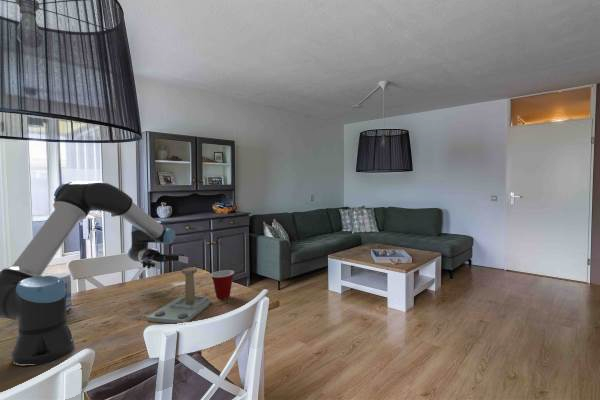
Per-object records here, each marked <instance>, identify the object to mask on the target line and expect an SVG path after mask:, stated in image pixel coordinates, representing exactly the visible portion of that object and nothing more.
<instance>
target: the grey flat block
mask: <svg viewBox="0 0 600 400" xmlns="http://www.w3.org/2000/svg"><path fill="white" fill-rule="evenodd" d="M212 300H213V299H209V296H204V295H194V303H193V304H186V298H185V295H184V296H178V297H177V298H175V299H173V300H171V302H168V303H167V304H165V305H164V306H162V307H161V308H159V309H157V310H155V311H154V312H152V313H151V314H150V315H148V316H146V321H147V322H155V323H157V322H158V323H166V324H174V323H183V322H187V323H188V322H190V321H191V320H192V319H193V318H194V317H196V316H197V315H198V314H200V313H201V312H202V311H203V310H204V309H206V308H207V307H209V306H210V305H211V304H212V303H213V302H212ZM210 303H211V304H210ZM209 304H210V305H209Z"/></svg>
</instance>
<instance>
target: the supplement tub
mask: <svg viewBox="0 0 600 400" xmlns="http://www.w3.org/2000/svg"><path fill="white" fill-rule="evenodd" d="M46 276H54V277H58V278H61V279H62V280H63V281H64V283H65V289H66V312H67V311H69V310H70V309H71V308H72V279H71V278H72V277H71V273H69V272H59V273H51V274H47V275H46Z"/></svg>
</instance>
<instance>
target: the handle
mask: <svg viewBox="0 0 600 400" xmlns="http://www.w3.org/2000/svg"><path fill="white" fill-rule="evenodd" d="M197 271H198V268H197V267H193V266H192V267H191V266H190V267H185V268H182V269H181V274H183V275H184V276H185V285H184V296H185V298H186V304H193V303H194V296H196V295H195V293H196V290H195V280H194V279H195V274H196V273H197Z"/></svg>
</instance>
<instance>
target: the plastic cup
mask: <svg viewBox="0 0 600 400" xmlns="http://www.w3.org/2000/svg"><path fill="white" fill-rule="evenodd" d="M234 274H235V271H234V270H229V269H225V270H224V269H223V270H218V271H214V272H213V273H212V272H211V274H210V277H211V279H212V283H213V287H214V292H215V295H216V299H217V298H218V299H225V298H228V297H229V298H230V296H231V290H232V284H233V277H234ZM229 298H228V299H229ZM218 299H217V300H218ZM225 300H226V299H225Z"/></svg>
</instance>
